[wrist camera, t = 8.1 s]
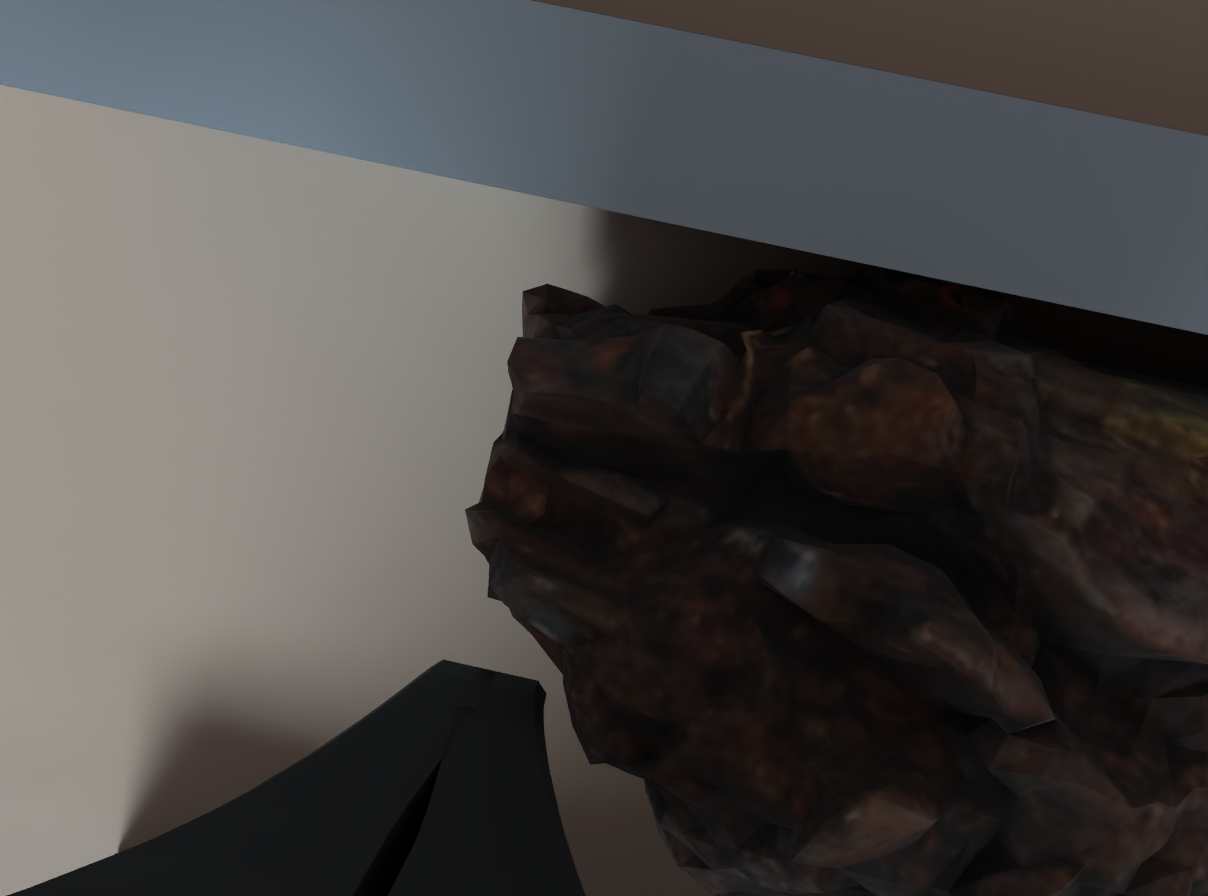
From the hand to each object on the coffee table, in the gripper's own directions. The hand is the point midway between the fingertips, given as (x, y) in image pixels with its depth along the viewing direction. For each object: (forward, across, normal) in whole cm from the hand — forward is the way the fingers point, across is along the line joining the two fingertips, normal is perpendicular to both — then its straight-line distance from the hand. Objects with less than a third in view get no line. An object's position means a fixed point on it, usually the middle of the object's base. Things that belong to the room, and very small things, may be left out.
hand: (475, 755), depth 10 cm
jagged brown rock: (+4, -8, -2) cm, 9 cm away
